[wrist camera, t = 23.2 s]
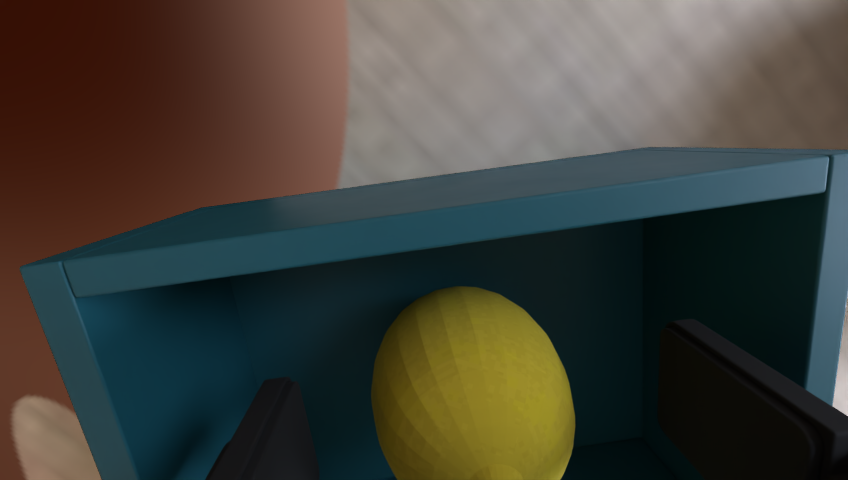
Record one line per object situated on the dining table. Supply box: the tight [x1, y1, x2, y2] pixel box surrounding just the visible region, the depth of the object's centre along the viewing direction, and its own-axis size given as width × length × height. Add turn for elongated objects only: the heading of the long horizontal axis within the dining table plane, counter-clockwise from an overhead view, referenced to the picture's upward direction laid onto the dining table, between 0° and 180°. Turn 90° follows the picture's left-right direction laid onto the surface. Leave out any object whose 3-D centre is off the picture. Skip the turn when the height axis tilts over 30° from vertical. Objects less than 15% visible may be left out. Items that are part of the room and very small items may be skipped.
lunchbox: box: [20, 147, 848, 480], centre depth 13 cm, size 13×17×7 cm
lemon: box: [371, 286, 575, 480], centre depth 12 cm, size 6×6×8 cm
